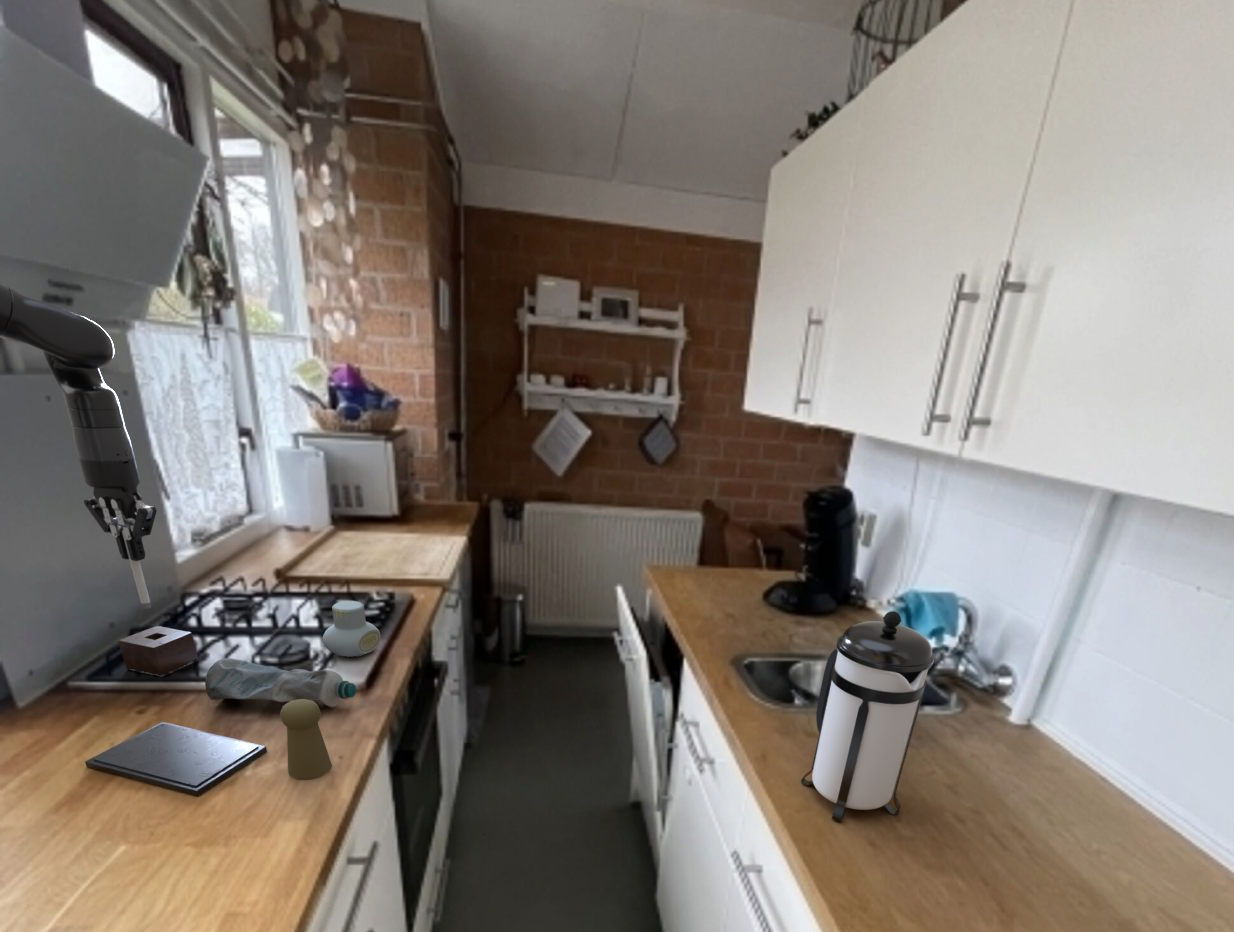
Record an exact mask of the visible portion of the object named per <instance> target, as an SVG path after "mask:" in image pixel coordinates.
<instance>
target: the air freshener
mask: <svg viewBox="0 0 1234 932" xmlns="http://www.w3.org/2000/svg"><path fill="white" fill-rule="evenodd" d="M331 608H332V609H331V610H332V618H333V624H331V625H330V626H329V627H328V628H327V629H326V630H325V632H324V633H323V636H322V643H323V646H324V647H325V649H327V650H328V651H329V652H331V653H333V654H335V655H337V656H339V657H340V656H341V657H345V656H346V658H347V657H348V658H354V657H353V656H356V657H361V656H360V655H364V654H366V655H368V654H369V653H371V652H372V651H374V650H375V649H376V648H377V647H378V645H380V642H381V639H382V637H381V635H382V634H381V632H380V630H379V629H378V628H377V627H376V626H375V625H374V624H372V623H370V622H369V621H366V613H365V605H364V604H363V603H362V602H360V601H358V600H357V601H356V600H342V601H339V602H336V603H335V604H333V605H332V607H331ZM367 653H368V654H367ZM364 656H365V655H364Z"/></svg>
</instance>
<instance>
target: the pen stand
mask: <svg viewBox="0 0 1234 932" xmlns="http://www.w3.org/2000/svg"><path fill="white" fill-rule="evenodd" d="M194 639H195V638H194V636H193V633H192V632H191V631H186V630H182V629H176V628H170V627H165V626H161V625H155V626H153V627H150V628H148V629H144V630H143V631H140V632H136V633H135V634H132V635H129V636H126V637H124V638H121V639H118V640H117V642H118V645H119V649H120V652H121V655H122V659H123V662H124V665H125V669H126V670H127V669H135V670H136V669H137V670H140V671H144V672H149V673H152V674H158V675H162V674H164V673H166V672H169V671H173V670H175V669H178V668H180V667H183V666H184V665H187V664H188V663H189V662H191V661H192V660H195V659H198V660H199V657H198V656H199V655H198V653H197V648H196V647H197V646H196V643H195V640H194Z"/></svg>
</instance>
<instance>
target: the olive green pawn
mask: <svg viewBox="0 0 1234 932" xmlns="http://www.w3.org/2000/svg"><path fill="white" fill-rule="evenodd" d="M279 715H280V716H279V717H280V720H281V722H282V724H283V725H284V726H285V727H286V748H287V773H288V776H289V777H291V778H293V779H295V780H302V781H304V780H305V781H306V780H307V781H308V780H313V779H317V778H320V777H323V776H324V775H326V774H327V773H329V772H330V771H331V770H332V767H333V764H332V761H331V758H330V755H329V752H328V749H327V745H326V743H325V740H324V737H323V734H322V731H321V728H320V725H319V722H320V719H321V710H320V707H319V705H318V704H317V703H316V702H315V700H307V699H298V700H293V701H290V702H286V703H285V704H284V705H282V707H281V709H280V714H279Z"/></svg>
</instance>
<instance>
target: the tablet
mask: <svg viewBox="0 0 1234 932" xmlns="http://www.w3.org/2000/svg"><path fill="white" fill-rule="evenodd" d="M267 752H268V747H267V746H266V745H263V744H262V745H261V744H259V743H253V742H249V741H245V740H241V739H236V738H232V737H228V736H224V735H220V734H216V733H211V732H207V731H203V730H199V729H194V728H192V727H191V728H190V727H186V726H181V725H178V724H175V723H170V722H165V721H161V722H160V723H157V724H155V725H153V726H152V727H150V728H147V729H146V730H144V731H141V732H140V733H138V734H136V735H134V736H132V737H130V738H128V739H126V740H124V741H122V742H120V743H118V744H117V745H115V746H112V747H111V748H109V749H106V750H105V751H103V752H100V753H99V754H97V755H95V756H93V757H91V758H89V759H87V760H84V763H85V766H86V768H88V769H92V770H96V771H100V772H104V773H107V774H112V775H114V776H119V777H123V778H127V779H130V780H134V781H138V782H142V783H144V784H145V783H146V784H149V785H151V786H152V785H153V786H157V787H161V788H164V789H167V790H171V791H175V792H179V793H183V794H185V795H191V796H194V797H201V796H202V795H203V794H205V793H206V792H207V791H209V790H211V789H212V788H214V787H215V786H217V785H219V784H220V783H222V782H223V781H224V780H226V779H228V778H230V777H231V776H232V775H234V774H235V773H237V772H238V771H240V770H241V769H243V768H245V767H246V766H248V765H249V764H250V763H252V762H254V761H255V760H257V759H258V758H260V757H262V756H263V755H264V754H266V753H267Z"/></svg>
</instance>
